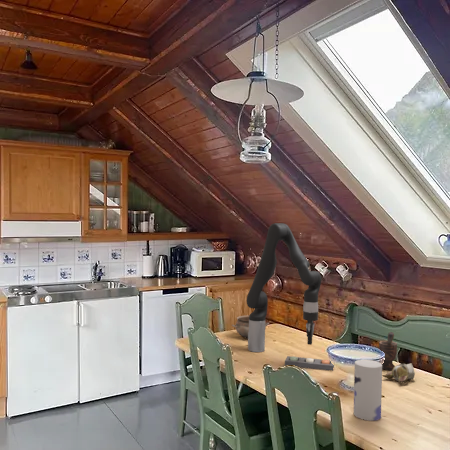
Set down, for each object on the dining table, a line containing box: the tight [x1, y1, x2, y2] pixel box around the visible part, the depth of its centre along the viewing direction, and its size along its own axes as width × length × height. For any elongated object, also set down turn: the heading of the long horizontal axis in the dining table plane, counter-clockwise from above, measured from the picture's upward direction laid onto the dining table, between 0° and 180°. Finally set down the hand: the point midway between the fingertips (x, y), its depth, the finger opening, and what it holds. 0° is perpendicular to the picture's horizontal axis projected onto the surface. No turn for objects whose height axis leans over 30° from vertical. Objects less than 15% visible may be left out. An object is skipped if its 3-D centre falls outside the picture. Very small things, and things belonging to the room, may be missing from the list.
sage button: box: [290, 355, 299, 361], centre depth 243 cm, size 4×4×3 cm
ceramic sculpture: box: [382, 362, 416, 384], centre depth 221 cm, size 11×9×15 cm
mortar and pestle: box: [378, 331, 398, 371], centre depth 237 cm, size 12×9×20 cm
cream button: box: [305, 357, 315, 363], centre depth 241 cm, size 4×4×3 cm
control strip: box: [284, 355, 335, 372], centre depth 241 cm, size 24×9×2 cm, turn 74°
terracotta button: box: [321, 359, 330, 364], centre depth 238 cm, size 4×4×3 cm
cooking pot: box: [231, 315, 270, 340], centre depth 296 cm, size 25×19×12 cm
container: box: [353, 359, 383, 422], centre depth 179 cm, size 10×10×20 cm
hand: (309, 344), depth 241 cm, fingers closed
